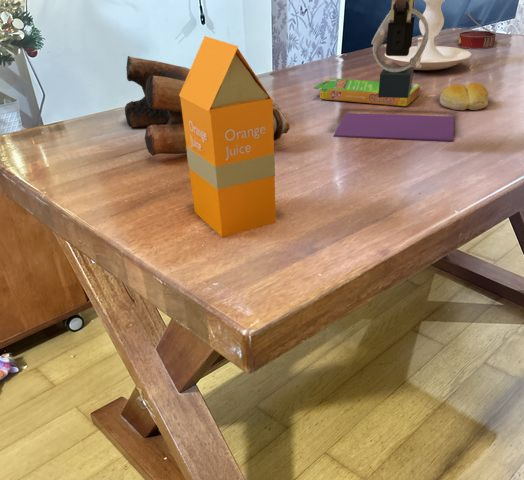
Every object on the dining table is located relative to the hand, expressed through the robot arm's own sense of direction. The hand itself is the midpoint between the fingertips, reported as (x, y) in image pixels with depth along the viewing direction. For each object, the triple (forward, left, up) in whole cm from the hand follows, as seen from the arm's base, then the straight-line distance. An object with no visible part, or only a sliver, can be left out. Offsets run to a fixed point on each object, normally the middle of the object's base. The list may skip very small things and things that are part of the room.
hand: (398, 50), depth 79 cm
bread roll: (-12, -29, -15) cm, 35 cm away
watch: (0, 0, -6) cm, 6 cm away
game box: (+8, -33, -15) cm, 37 cm away
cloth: (0, -13, -14) cm, 19 cm away
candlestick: (-3, -62, -15) cm, 64 cm away
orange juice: (+17, +29, -15) cm, 37 cm away
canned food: (-16, -95, -15) cm, 97 cm away
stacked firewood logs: (+33, -4, -15) cm, 36 cm away
